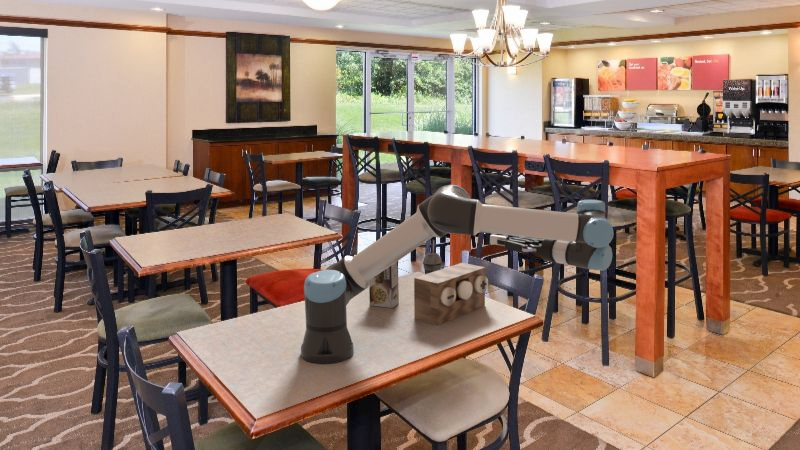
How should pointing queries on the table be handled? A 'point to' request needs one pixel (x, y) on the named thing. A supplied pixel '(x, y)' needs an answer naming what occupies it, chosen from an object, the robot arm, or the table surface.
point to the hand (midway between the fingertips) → (491, 239)
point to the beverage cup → (432, 262)
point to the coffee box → (385, 288)
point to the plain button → (464, 290)
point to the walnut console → (448, 293)
